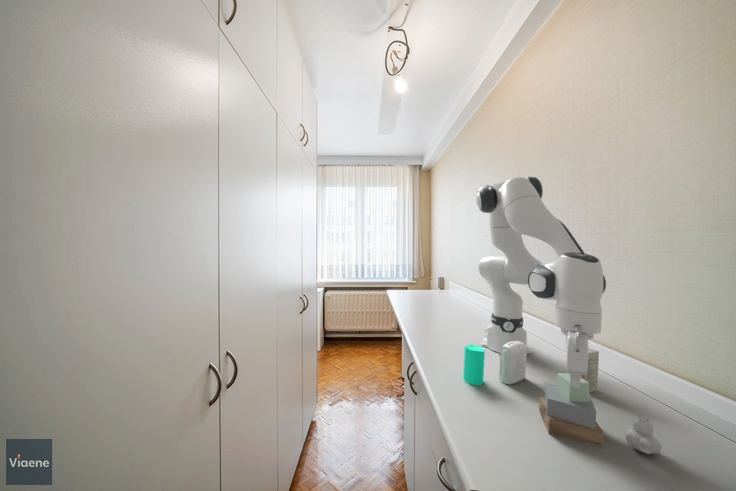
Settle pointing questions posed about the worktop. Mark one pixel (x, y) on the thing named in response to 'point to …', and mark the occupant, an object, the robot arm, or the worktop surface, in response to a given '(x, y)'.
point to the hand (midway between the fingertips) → (574, 378)
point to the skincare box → (592, 370)
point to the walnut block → (570, 428)
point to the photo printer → (513, 362)
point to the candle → (473, 364)
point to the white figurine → (642, 436)
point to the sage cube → (572, 389)
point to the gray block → (569, 408)
